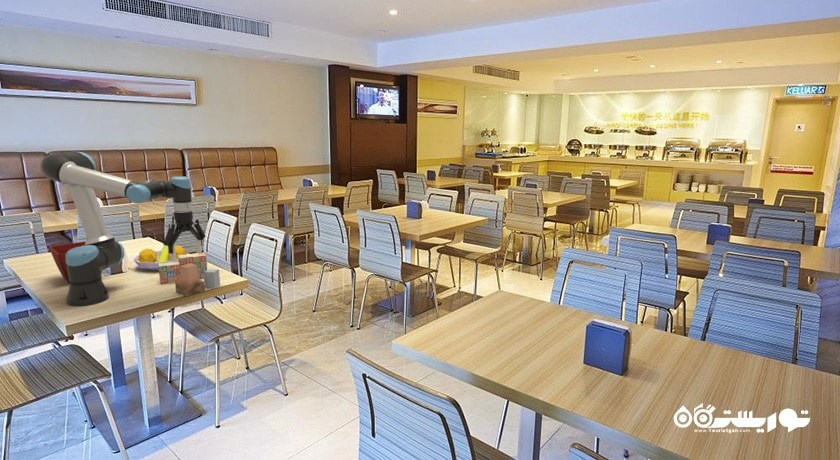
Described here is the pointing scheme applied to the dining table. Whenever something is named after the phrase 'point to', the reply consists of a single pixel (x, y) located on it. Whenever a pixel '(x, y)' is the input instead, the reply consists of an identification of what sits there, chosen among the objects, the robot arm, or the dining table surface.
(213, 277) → the greyblue block
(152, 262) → the fruit bowl
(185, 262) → the stack of blocks
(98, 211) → the robot arm
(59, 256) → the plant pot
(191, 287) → the walnut base
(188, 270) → the terracotta block
